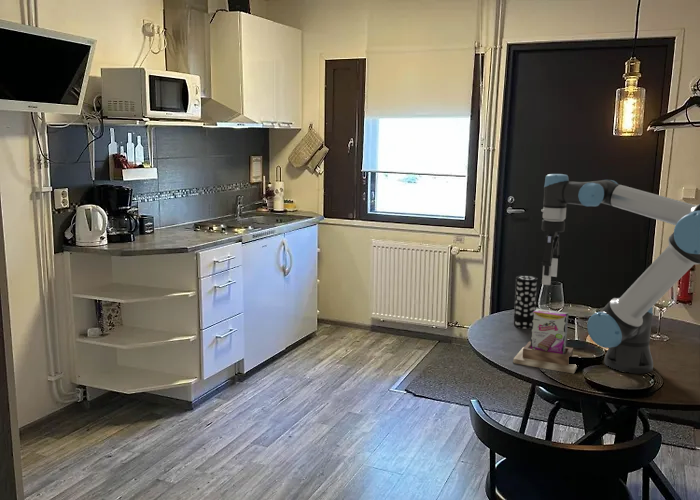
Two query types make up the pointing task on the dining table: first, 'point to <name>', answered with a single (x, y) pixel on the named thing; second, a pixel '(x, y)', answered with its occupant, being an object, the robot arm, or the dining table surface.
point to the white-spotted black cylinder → (525, 301)
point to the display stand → (545, 359)
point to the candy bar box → (549, 331)
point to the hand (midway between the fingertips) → (549, 280)
